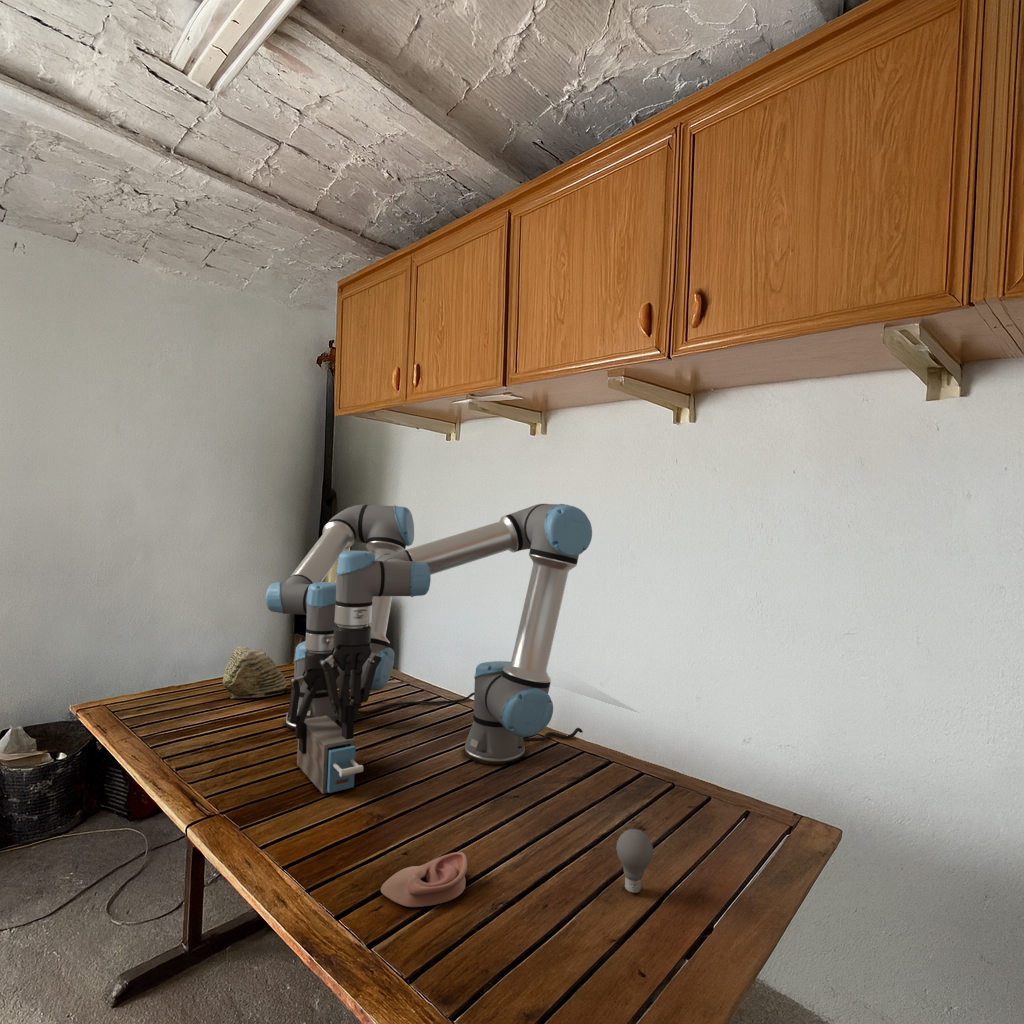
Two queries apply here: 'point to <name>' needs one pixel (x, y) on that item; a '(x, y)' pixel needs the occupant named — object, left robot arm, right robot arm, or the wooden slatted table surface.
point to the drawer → (341, 768)
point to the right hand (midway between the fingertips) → (347, 736)
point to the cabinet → (320, 749)
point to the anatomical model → (428, 882)
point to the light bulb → (634, 857)
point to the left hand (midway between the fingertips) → (318, 748)
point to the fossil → (252, 674)
